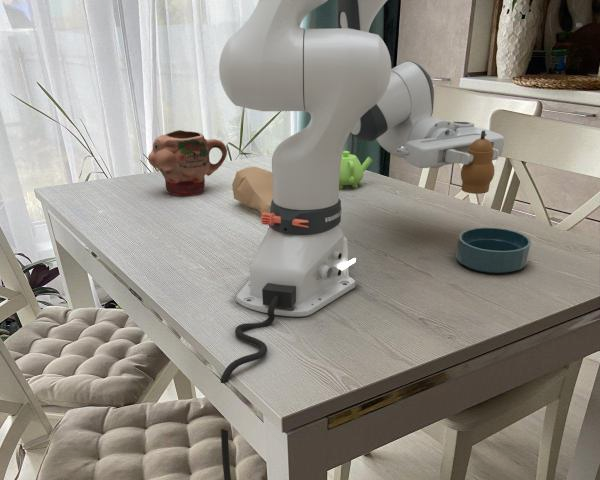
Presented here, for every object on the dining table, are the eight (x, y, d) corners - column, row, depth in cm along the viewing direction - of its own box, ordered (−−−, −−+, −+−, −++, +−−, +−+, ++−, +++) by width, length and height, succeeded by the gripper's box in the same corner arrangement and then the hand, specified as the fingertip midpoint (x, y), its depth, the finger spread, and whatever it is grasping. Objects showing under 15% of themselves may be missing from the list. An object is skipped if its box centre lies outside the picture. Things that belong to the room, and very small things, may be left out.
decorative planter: (220, 180, 167) (216, 125, 159) (236, 191, 158) (232, 133, 150) (148, 189, 160) (140, 132, 152) (160, 202, 151) (152, 142, 143)
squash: (265, 197, 154) (271, 161, 149) (296, 231, 140) (303, 192, 135) (224, 195, 149) (229, 157, 144) (252, 230, 136) (258, 190, 130)
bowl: (519, 280, 109) (524, 256, 107) (448, 268, 114) (451, 245, 111) (531, 255, 119) (536, 233, 116) (465, 245, 124) (468, 223, 121)
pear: (487, 196, 111) (497, 135, 105) (455, 192, 113) (462, 132, 108) (494, 187, 116) (504, 128, 110) (462, 184, 118) (470, 126, 112)
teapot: (354, 193, 155) (355, 158, 150) (315, 187, 159) (315, 153, 155) (372, 182, 162) (374, 149, 158) (334, 177, 167) (335, 144, 162)
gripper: (392, 132, 115) (440, 145, 105) (475, 121, 123) (527, 132, 113) (390, 166, 118) (436, 183, 108) (471, 153, 126) (520, 168, 116)
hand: (483, 157), depth 110 cm, fingers closed on pear, 4 cm apart
